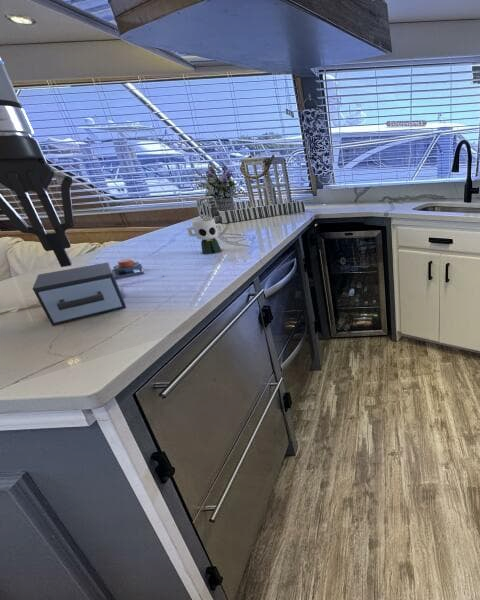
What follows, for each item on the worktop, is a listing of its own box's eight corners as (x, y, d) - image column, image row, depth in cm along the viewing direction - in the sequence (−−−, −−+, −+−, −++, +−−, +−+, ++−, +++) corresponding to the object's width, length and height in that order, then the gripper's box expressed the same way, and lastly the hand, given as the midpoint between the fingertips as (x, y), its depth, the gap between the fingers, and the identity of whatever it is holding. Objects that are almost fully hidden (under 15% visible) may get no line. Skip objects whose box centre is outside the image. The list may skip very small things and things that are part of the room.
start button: (120, 268, 94) (118, 263, 94) (119, 266, 97) (117, 261, 96) (135, 266, 97) (133, 260, 96) (134, 263, 99) (132, 258, 98)
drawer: (124, 312, 71) (112, 283, 69) (52, 330, 64) (36, 299, 62) (117, 293, 83) (107, 268, 80) (56, 306, 76) (42, 279, 73)
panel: (93, 289, 89) (87, 276, 88) (92, 281, 96) (86, 268, 94) (147, 278, 97) (142, 265, 95) (142, 271, 103) (138, 259, 102)
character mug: (197, 260, 113) (186, 223, 108) (195, 256, 119) (184, 221, 113) (231, 254, 119) (221, 219, 114) (227, 251, 125) (218, 217, 119)
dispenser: (126, 307, 76) (111, 273, 73) (52, 326, 68) (32, 288, 65) (121, 293, 85) (108, 262, 82) (55, 308, 78) (38, 274, 74)
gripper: (-62, 133, 50) (17, 277, 59) (55, 134, 58) (108, 261, 67) (-49, 137, 55) (22, 269, 64) (57, 138, 63) (106, 255, 72)
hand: (66, 265), depth 65 cm, fingers closed
